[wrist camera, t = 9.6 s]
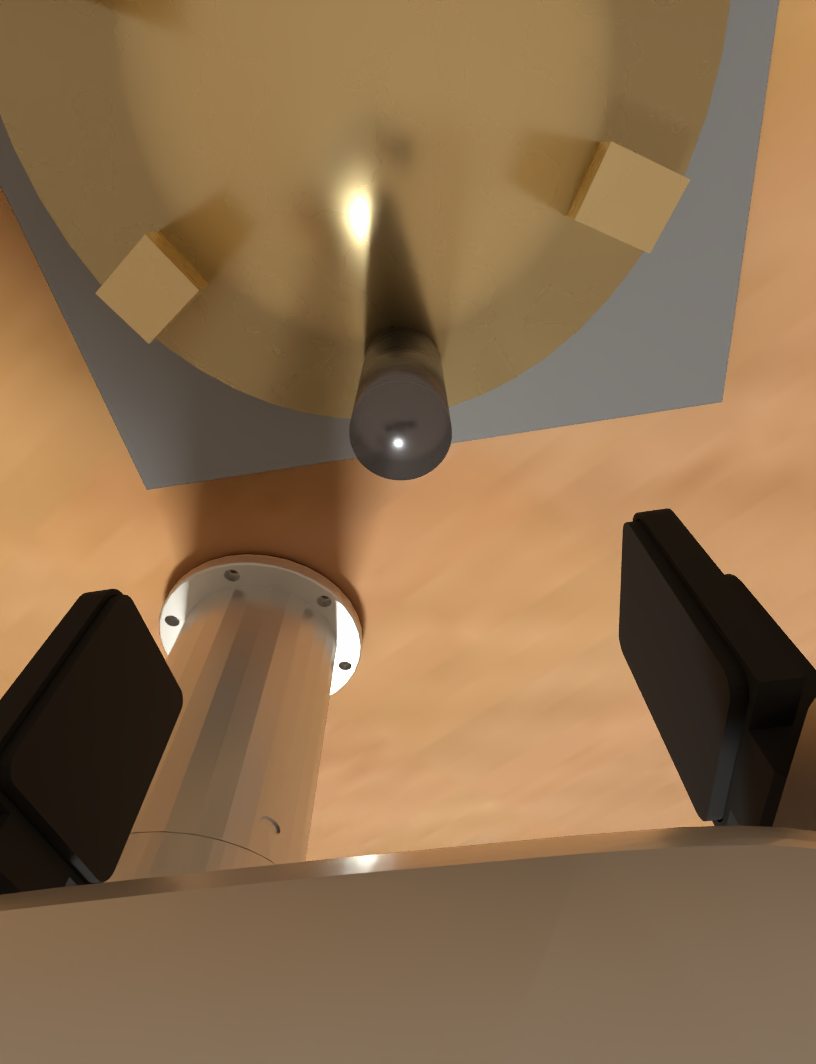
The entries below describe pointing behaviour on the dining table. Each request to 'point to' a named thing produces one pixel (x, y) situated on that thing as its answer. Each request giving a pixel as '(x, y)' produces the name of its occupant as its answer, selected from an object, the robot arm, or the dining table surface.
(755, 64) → the base plate
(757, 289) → the dining table surface
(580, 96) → the beige piece
